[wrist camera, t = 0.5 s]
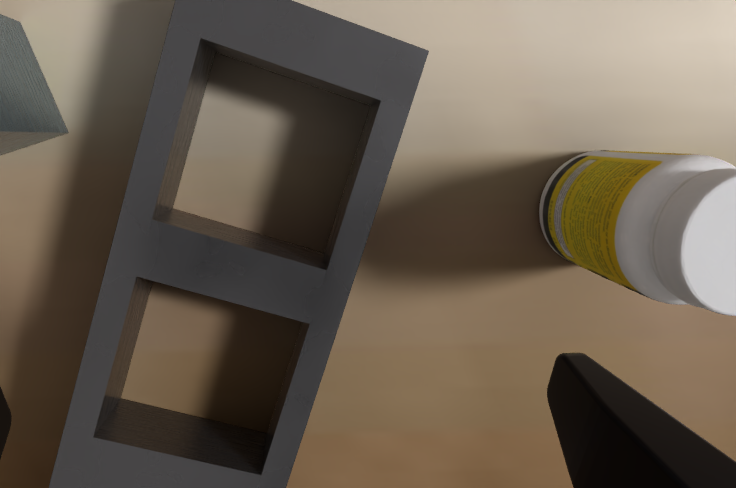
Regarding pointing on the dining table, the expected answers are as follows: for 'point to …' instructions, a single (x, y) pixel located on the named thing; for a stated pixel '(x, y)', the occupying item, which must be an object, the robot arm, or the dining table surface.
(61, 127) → the light blue tall block
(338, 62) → the grey slotted rack
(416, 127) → the dining table surface
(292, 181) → the dining table surface
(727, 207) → the supplement bottle
